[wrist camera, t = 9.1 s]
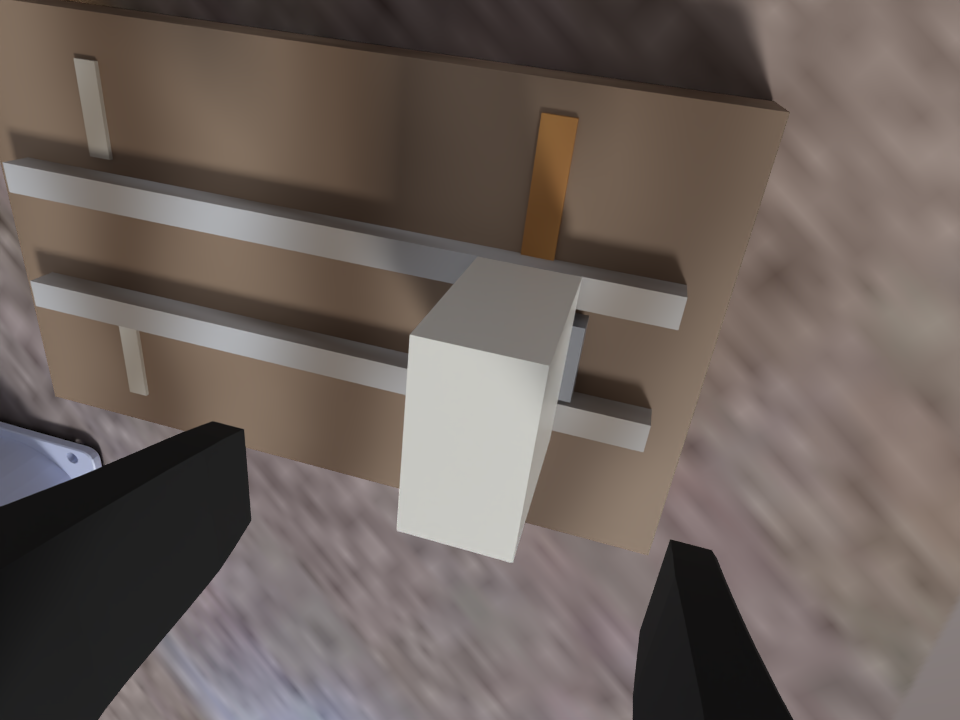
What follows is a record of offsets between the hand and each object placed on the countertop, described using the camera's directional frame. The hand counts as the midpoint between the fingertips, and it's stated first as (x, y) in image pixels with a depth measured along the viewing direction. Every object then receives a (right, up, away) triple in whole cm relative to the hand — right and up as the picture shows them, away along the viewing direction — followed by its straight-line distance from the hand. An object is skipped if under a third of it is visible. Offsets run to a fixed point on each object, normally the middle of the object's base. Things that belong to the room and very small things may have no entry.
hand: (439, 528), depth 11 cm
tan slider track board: (-3, +6, +9) cm, 11 cm away
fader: (+2, +3, +6) cm, 7 cm away
